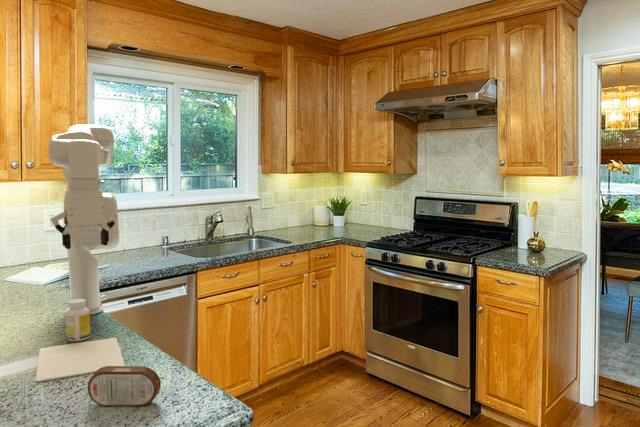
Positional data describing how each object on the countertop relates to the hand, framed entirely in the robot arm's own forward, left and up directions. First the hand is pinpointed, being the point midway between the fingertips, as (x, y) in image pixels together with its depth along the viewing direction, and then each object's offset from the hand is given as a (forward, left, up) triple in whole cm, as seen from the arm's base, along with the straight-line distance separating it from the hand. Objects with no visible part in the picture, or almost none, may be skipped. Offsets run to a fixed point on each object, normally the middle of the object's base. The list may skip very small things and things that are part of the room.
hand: (86, 246), depth 136 cm
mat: (+7, +2, -29) cm, 30 cm away
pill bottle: (-7, -9, -30) cm, 32 cm away
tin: (+27, +29, -30) cm, 50 cm away
